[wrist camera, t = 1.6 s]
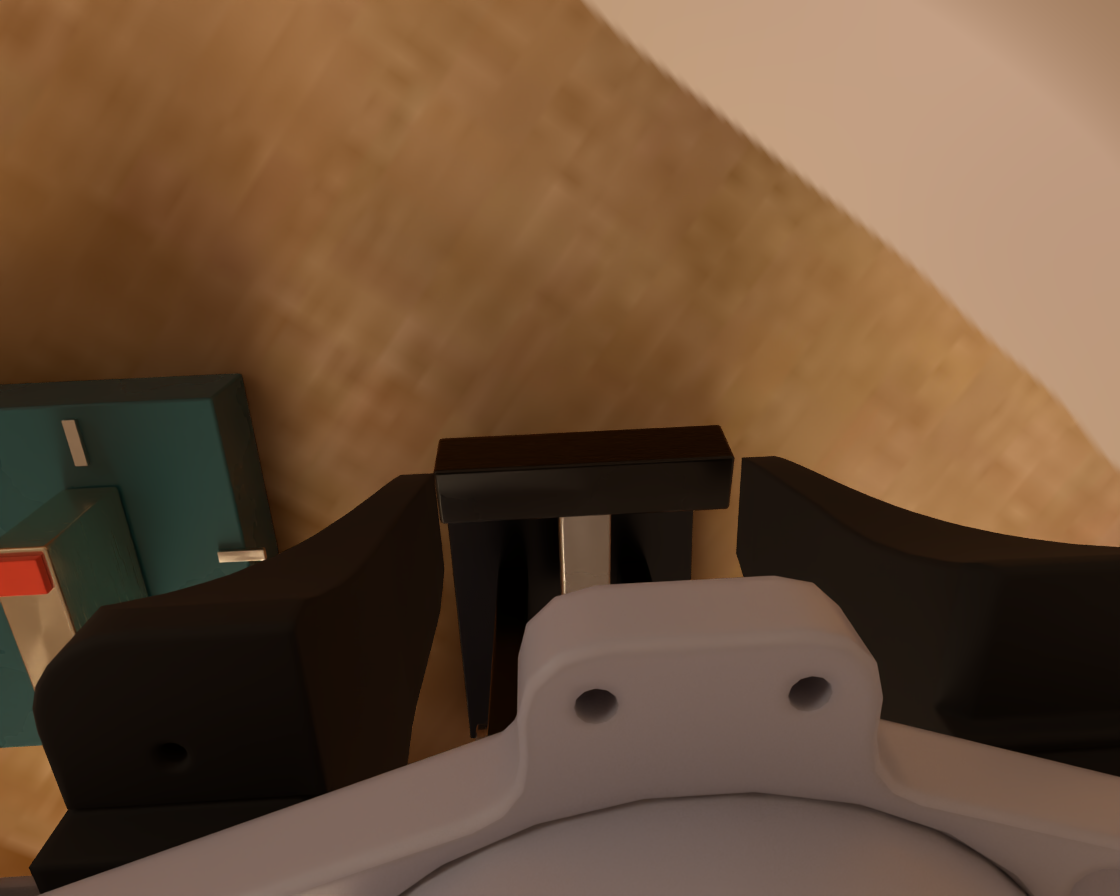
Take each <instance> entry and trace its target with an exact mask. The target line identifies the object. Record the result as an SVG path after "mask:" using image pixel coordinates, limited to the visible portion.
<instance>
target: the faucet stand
mask: <svg viewBox="0 0 1120 896" xmlns="http://www.w3.org/2000/svg"><path fill="white" fill-rule="evenodd" d="M448 530H449V539H450V549H451V558H452V568H453V577H454V587H455V596H456V605H457V615H458V624H459V634H460V643H461V653H462V662H463V671H464V681H465V690H466V700H467V709H468V719H469V728H470V737H471V738H475V741H477V740H479V739H482V738H485V737H488V736H491V735H494V734H496V733H499V732H502V731H504V730H505V729H506V728H507V727H508V726H509V725H510V724H511V723H512V722H513V721H514V720H515V718H516V716H517V693H518V655H519V651H520V647H521V643H522V640H523V636H524V632H525V628H526V624H527V623H528V622H529V621H530V620H531V619H532V618H533V617H534V616H535V615H536V614H537V613H538V612H539V611H540V610H541V609H542V608H544V607H545V606H546V605H547V604H548V603H549V602H550V601H551V600H552V599H553V598H554V597H556V596H560V595H561V581H560V556H559V530H558V518H541V519H522V520H503V521H483V522H464V523H448ZM692 532H693V511H675V512H656V513H636V514H617V515H611V562H610V584H628V583H646V582H665V581H683V580H691V561H692Z"/></svg>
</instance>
